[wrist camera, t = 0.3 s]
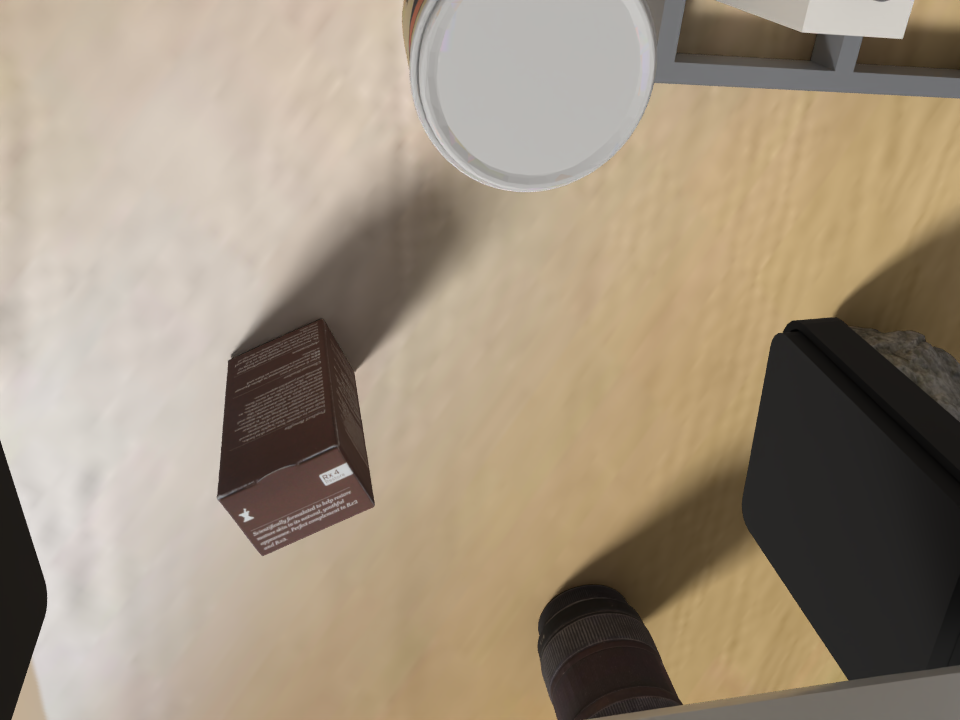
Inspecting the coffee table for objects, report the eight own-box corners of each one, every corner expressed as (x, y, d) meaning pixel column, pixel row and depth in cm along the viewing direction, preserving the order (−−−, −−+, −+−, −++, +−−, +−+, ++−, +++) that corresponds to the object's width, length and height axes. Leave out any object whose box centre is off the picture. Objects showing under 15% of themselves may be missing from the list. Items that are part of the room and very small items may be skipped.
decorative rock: (824, 301, 54) (988, 442, 42) (922, 299, 56) (1110, 436, 43) (764, 513, 62) (885, 686, 50) (851, 507, 64) (991, 675, 51)
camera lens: (652, 627, 66) (739, 816, 53) (553, 673, 67) (615, 870, 54) (616, 557, 62) (700, 743, 49) (511, 607, 62) (567, 804, 50)
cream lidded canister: (519, -134, 40) (597, -125, 30) (608, 52, 45) (701, 114, 34) (344, -16, 41) (361, 31, 31) (448, 153, 46) (493, 242, 35)
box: (266, 418, 52) (259, 562, 41) (226, 357, 49) (208, 493, 39) (362, 376, 51) (379, 510, 41) (326, 313, 49) (334, 438, 39)
